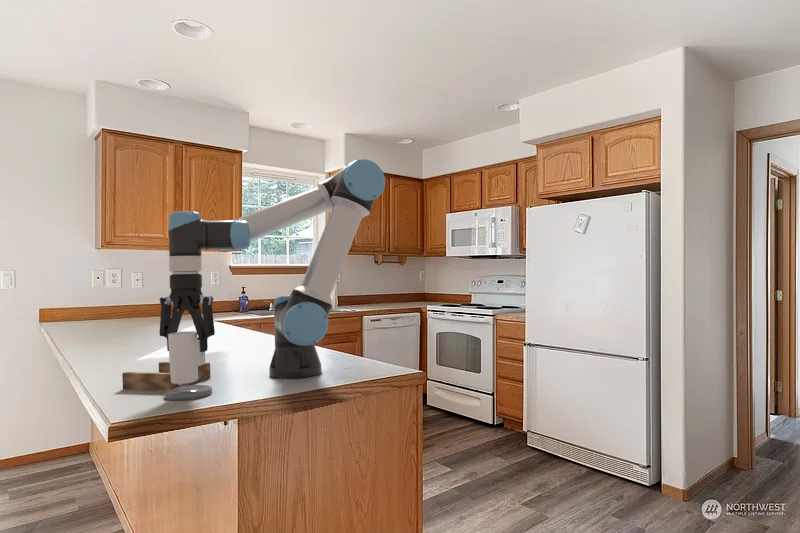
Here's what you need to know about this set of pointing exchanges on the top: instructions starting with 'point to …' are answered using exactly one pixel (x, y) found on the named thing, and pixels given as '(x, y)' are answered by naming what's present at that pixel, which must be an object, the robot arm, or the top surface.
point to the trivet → (188, 392)
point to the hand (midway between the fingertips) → (187, 364)
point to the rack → (159, 378)
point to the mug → (183, 357)
